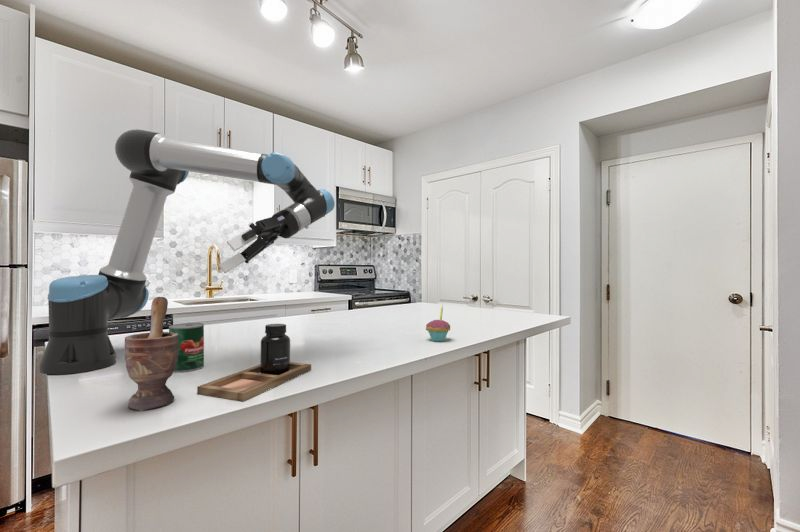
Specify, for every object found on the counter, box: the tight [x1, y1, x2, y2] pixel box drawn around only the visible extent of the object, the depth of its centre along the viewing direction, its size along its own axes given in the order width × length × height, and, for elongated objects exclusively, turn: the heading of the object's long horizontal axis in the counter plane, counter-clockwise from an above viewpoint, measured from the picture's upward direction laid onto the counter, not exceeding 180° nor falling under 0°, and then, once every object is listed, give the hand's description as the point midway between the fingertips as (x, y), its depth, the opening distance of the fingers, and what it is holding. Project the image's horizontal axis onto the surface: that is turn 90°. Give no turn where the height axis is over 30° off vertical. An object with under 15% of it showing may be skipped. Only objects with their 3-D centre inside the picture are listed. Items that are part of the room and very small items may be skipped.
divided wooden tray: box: [196, 361, 312, 402], centre depth 87 cm, size 12×23×2 cm, turn 159°
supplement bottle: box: [259, 323, 291, 375], centre depth 92 cm, size 7×7×12 cm
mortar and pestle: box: [124, 296, 179, 412], centre depth 74 cm, size 12×9×20 cm
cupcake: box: [425, 305, 451, 342], centre depth 133 cm, size 9×8×12 cm
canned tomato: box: [168, 322, 205, 373], centre depth 98 cm, size 8×8×11 cm
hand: (225, 258), depth 95 cm, fingers open, 13 cm apart
